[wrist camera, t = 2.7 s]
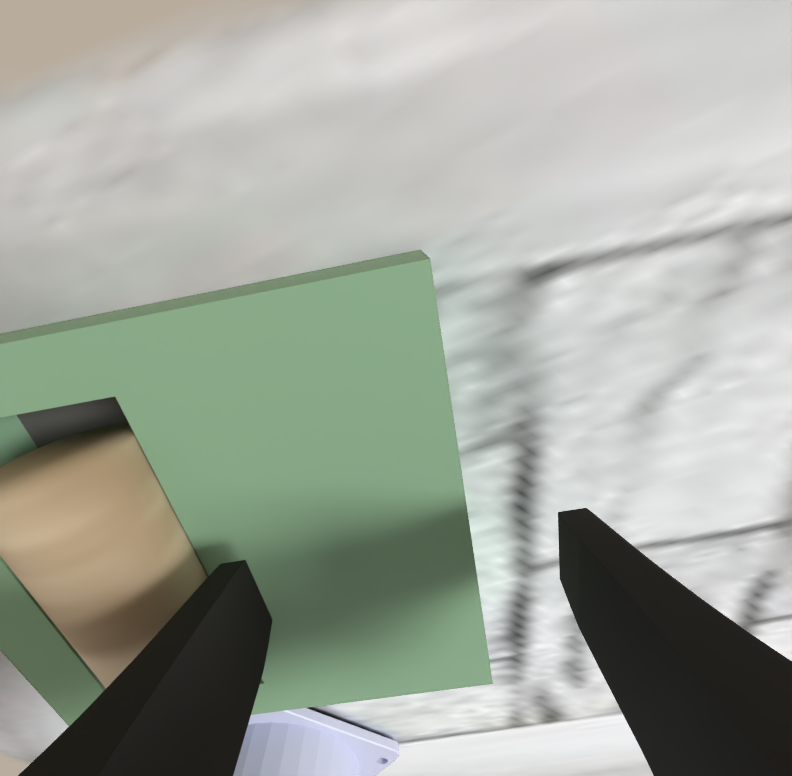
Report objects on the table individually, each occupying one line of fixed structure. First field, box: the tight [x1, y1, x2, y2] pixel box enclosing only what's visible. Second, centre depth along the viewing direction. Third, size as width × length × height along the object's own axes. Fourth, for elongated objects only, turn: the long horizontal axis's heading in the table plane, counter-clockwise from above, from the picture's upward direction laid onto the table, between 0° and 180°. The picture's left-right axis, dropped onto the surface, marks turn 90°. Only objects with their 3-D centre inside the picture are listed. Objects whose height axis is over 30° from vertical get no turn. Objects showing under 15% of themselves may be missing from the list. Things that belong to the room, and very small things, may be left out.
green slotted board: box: [0, 250, 493, 726], centre depth 11 cm, size 14×13×2 cm
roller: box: [0, 425, 208, 688], centre depth 10 cm, size 8×3×3 cm, turn 11°
